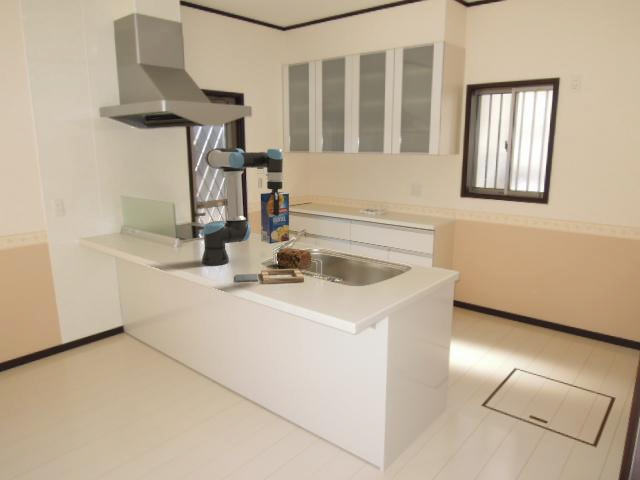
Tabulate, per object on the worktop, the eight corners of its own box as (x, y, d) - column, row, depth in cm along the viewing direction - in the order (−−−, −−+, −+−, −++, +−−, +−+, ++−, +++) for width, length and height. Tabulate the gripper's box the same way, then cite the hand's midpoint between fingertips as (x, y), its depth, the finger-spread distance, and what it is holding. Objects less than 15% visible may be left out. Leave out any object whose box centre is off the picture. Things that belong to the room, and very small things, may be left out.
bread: (311, 267, 256) (311, 250, 254) (298, 271, 248) (299, 253, 246) (287, 261, 268) (287, 245, 266) (274, 265, 259) (274, 248, 257)
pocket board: (261, 273, 241) (261, 270, 241) (298, 272, 245) (298, 268, 245) (263, 283, 224) (263, 279, 224) (304, 281, 228) (304, 277, 228)
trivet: (235, 276, 236) (235, 274, 236) (256, 275, 238) (256, 273, 238) (235, 282, 226) (235, 280, 225) (258, 281, 228) (258, 279, 228)
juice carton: (269, 243, 224) (269, 195, 219) (261, 241, 229) (260, 193, 224) (289, 240, 232) (289, 193, 227) (280, 238, 237) (280, 192, 232)
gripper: (265, 179, 232) (265, 224, 236) (269, 182, 215) (269, 231, 220) (279, 179, 233) (279, 224, 238) (284, 182, 217) (284, 230, 222)
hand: (274, 227), depth 229 cm, fingers open, 4 cm apart
